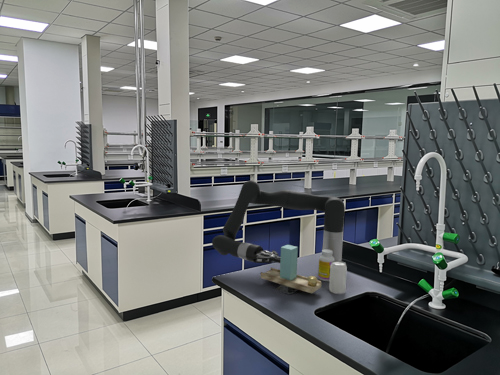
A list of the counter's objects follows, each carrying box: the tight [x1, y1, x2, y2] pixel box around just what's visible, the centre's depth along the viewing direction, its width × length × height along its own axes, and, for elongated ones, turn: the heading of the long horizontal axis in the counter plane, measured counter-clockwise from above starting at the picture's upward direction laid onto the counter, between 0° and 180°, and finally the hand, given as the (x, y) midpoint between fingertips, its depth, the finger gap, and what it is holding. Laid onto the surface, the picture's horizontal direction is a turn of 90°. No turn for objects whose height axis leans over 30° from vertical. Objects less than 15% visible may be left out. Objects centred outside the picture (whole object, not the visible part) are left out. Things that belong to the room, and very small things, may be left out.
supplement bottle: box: [317, 249, 335, 282], centre depth 159 cm, size 7×7×13 cm
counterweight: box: [307, 275, 318, 287], centre depth 142 cm, size 4×4×3 cm
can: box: [328, 260, 348, 295], centre depth 146 cm, size 6×6×12 cm
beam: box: [260, 267, 322, 294], centre depth 149 cm, size 24×8×2 cm, turn 53°
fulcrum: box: [275, 284, 299, 296], centre depth 149 cm, size 7×11×2 cm, turn 143°
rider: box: [279, 244, 299, 281], centre depth 148 cm, size 5×5×13 cm
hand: (283, 260), depth 150 cm, fingers closed
